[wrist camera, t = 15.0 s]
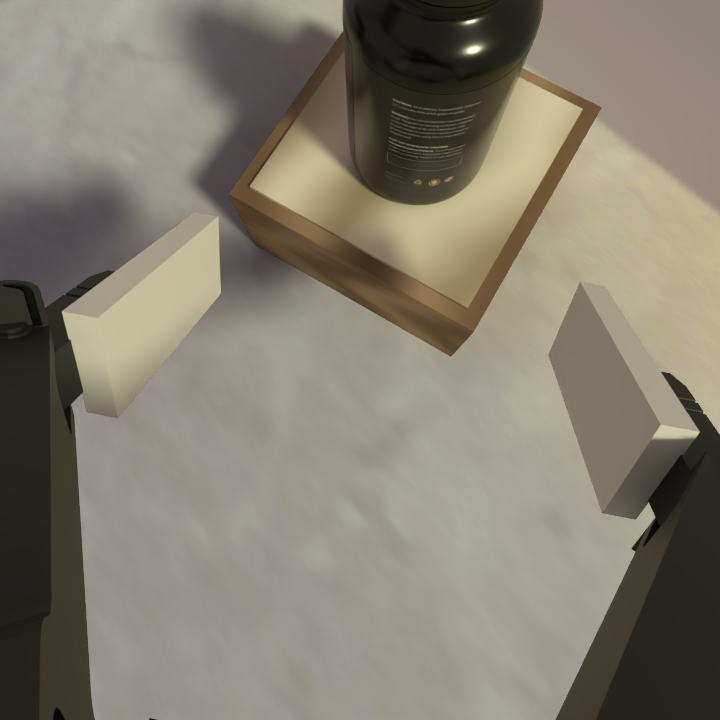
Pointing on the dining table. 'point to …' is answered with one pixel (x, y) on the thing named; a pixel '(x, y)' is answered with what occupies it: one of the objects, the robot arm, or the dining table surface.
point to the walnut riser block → (407, 207)
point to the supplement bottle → (430, 88)
